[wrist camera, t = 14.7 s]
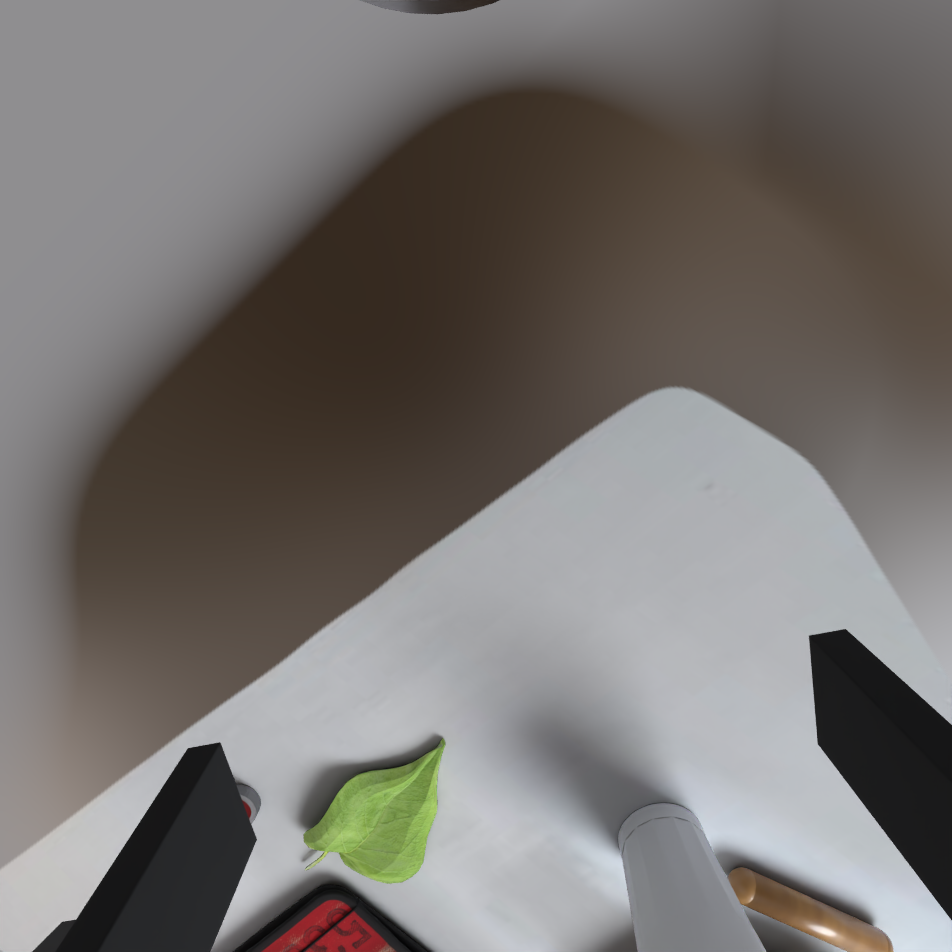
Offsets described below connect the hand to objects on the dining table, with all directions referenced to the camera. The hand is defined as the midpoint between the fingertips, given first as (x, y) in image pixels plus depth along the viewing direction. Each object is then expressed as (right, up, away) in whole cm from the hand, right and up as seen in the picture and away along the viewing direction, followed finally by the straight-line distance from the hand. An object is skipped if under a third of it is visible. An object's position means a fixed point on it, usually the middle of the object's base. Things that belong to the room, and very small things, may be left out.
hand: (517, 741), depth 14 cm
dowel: (+24, -27, +35) cm, 51 cm away
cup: (+13, -21, +34) cm, 42 cm away
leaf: (-8, -19, +33) cm, 39 cm away
